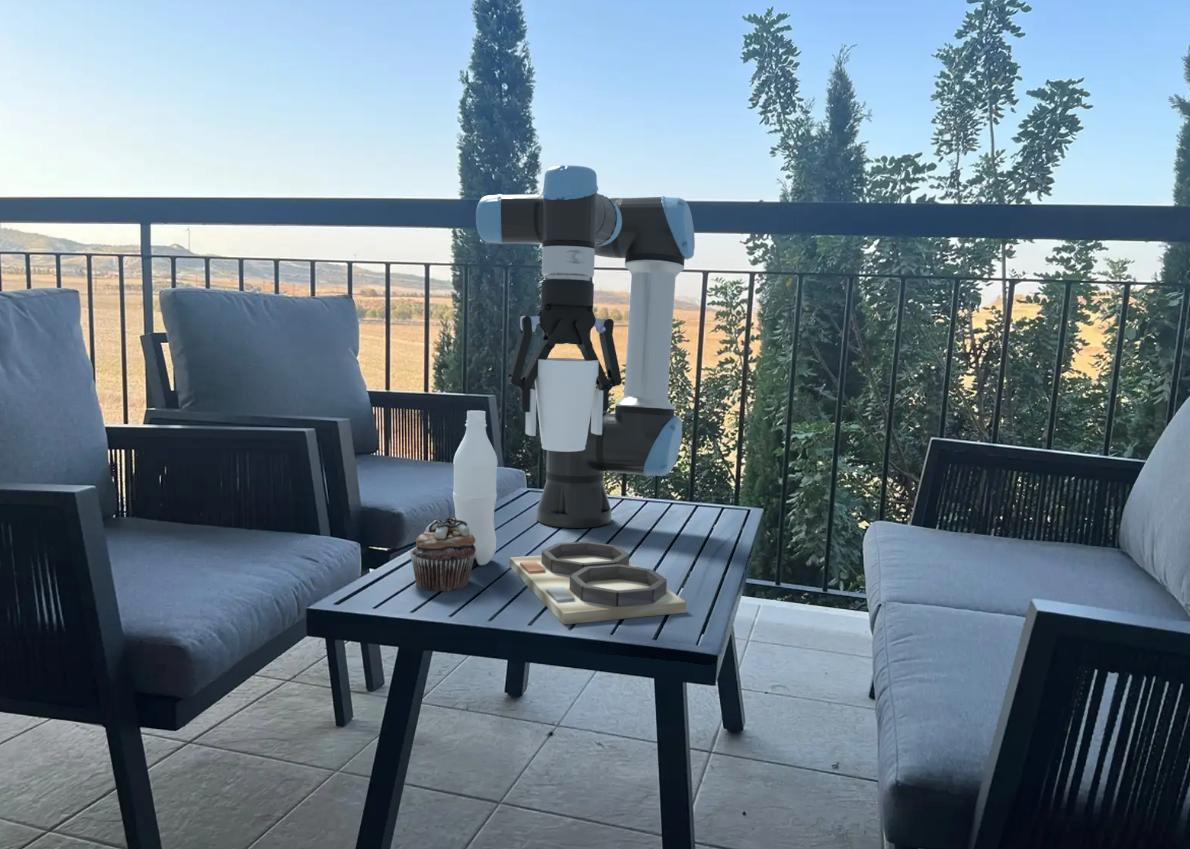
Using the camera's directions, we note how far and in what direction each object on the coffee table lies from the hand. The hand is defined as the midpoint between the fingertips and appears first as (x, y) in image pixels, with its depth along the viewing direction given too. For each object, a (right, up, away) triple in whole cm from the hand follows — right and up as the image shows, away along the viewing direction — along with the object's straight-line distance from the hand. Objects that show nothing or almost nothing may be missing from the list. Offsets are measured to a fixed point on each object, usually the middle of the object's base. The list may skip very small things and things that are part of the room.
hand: (563, 434), depth 124 cm
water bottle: (-15, -22, +16) cm, 31 cm away
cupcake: (-18, -23, +5) cm, 30 cm away
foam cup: (0, -2, 0) cm, 2 cm away
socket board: (+4, -23, +4) cm, 24 cm away
